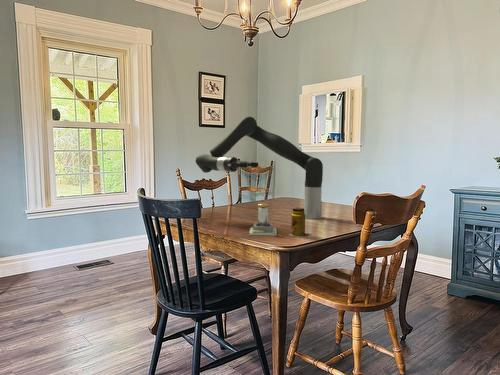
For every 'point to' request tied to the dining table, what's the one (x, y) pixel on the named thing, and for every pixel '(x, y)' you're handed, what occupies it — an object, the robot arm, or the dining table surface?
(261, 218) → the glass storage jar
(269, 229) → the dock
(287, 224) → the dining table surface
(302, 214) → the condiment
